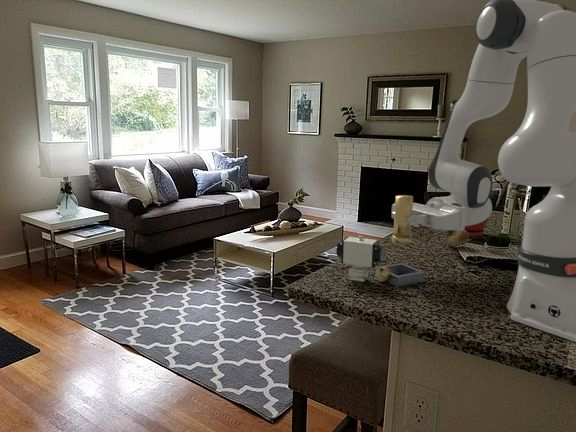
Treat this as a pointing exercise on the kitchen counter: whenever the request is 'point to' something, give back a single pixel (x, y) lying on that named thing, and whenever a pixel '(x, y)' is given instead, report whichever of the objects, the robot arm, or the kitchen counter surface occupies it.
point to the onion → (456, 238)
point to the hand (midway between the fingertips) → (400, 217)
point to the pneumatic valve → (360, 256)
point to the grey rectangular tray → (390, 275)
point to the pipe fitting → (402, 219)
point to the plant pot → (476, 229)
